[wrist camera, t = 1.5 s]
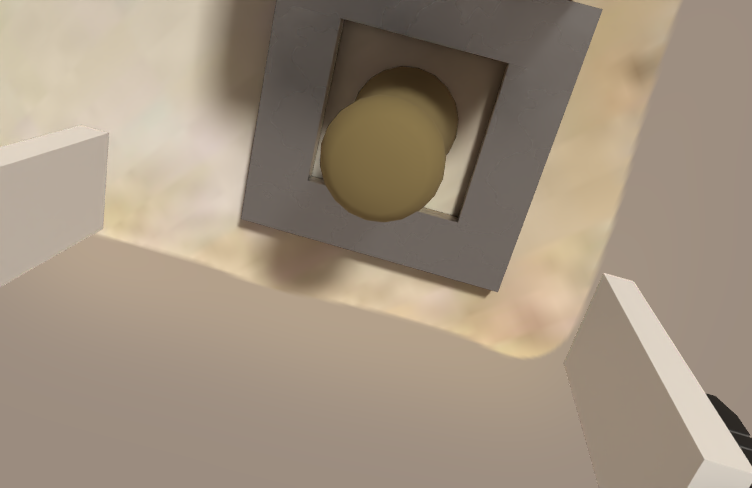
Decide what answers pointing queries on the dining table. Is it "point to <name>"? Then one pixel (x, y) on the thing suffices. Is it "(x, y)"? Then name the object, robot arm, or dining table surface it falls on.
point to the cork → (390, 145)
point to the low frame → (499, 146)
